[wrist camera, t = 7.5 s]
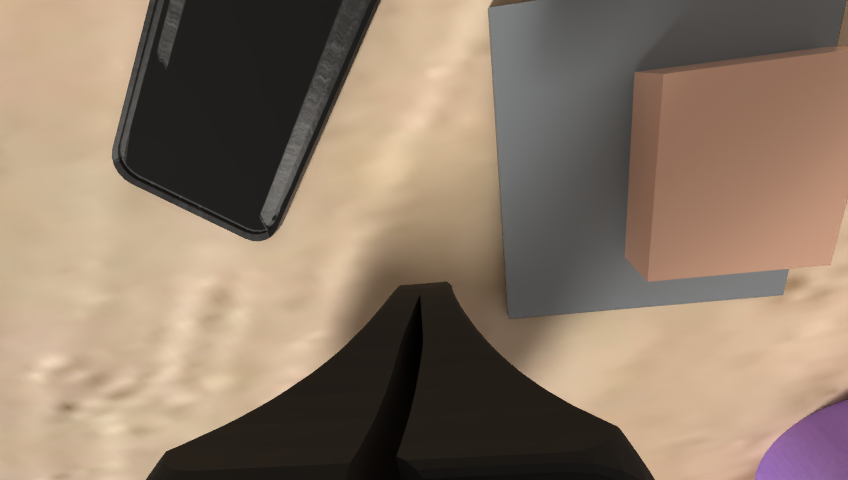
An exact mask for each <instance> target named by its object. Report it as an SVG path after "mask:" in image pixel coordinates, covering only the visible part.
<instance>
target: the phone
mask: <svg viewBox="0 0 848 480" xmlns="http://www.w3.org/2000/svg"><path fill="white" fill-rule="evenodd" d="M379 2H380V0H150V2H149V6H148V10H147V14H146V18H145V22H144V26H143V30H142V34H141V38H140V42H139V46H138V50H137V54H136V58H135V62H134V65H133V69H132V73H131V77H130V81H129V85H128V89H127V93H126V97H125V101H124V105H123V109H122V113H121V117H120V121H119V125H118V129H117V133H116V137H115V141H114V145H113V149H112V159H113V163H114V166H115V168H116V169H117V171H118V173H119V174H120V175H121V176H122V177H123V178H124V179H125V180H127V181H128V182H130V183H131V184H133V185H135V186H137V187H139V188H141V189H143V190H145V191H148V192H150V193H152V194H154V195H156V196H158V197H160V198H162V199H164V200H166V201H168V202H170V203H173V204H175V205H177V206H179V207H181V208H183V209H185V210H187V211H189V212H191V213H193V214H195V215H197V216H200V217H202V218H204V219H206V220H208V221H210V222H212V223H214V224H216V225H218V226H220V227H222V228H224V229H227V230H229V231H231V232H233V233H235V234H237V235H239V236H241V237H243V238H245V239H248V240H251V241H262V240H266V239H268V238H269V237H271V236H272V235H273V234H274V233H275V232H276V231H277V230H278V229H279V228H280V226H281V225H282V223H283V221H284V219H285V216H286V214H287V212H288V210H289V207H290V205H291V203H292V200H293V198H294V196H295V194H296V191H297V189H298V187H299V185H300V182H301V180H302V178H303V175H304V173H305V171H306V169H307V166H308V164H309V162H310V159H311V157H312V155H313V153H314V150H315V148H316V146H317V144H318V141H319V139H320V137H321V134H322V132H323V130H324V128H325V125H326V123H327V121H328V119H329V116H330V114H331V112H332V109H333V107H334V105H335V103H336V100H337V98H338V96H339V94H340V91H341V89H342V87H343V84H344V82H345V80H346V78H347V75H348V73H349V71H350V68H351V66H352V64H353V62H354V59H355V57H356V55H357V53H358V50H359V48H360V46H361V43H362V41H363V39H364V37H365V34H366V32H367V30H368V28H369V25H370V23H371V21H372V18H373V16H374V14H375V12H376V9H377V7H378V5H379Z"/></svg>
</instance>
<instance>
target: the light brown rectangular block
mask: <svg viewBox="0 0 848 480" xmlns="http://www.w3.org/2000/svg"><path fill="white" fill-rule="evenodd" d="M847 199H848V46H837V47H821V48H814V49H806V50H798V51H791V52H783V53H776V54H768V55H760V56H753V57H745V58H738V59H730V60H722V61H715V62H707V63H699V64H692V65H684V66H677V67H669V68H661V69H654V70H646V71H639V72H634V90H633V109H632V128H631V147H630V166H629V184H628V203H627V222H626V241H625V258H626V259H627V260H628V261H629V262H630V263H631V264H632V266H633V267H634V268H635V269H636V270H637V271H638V272H639V273H640V274H641V275H642V276H643V277H644V279H645V280H646V281H647V282H650V281H661V280H672V279H683V278H694V277H705V276H716V275H726V274H737V273H748V272H759V271H770V270H781V269H792V268H803V267H814V266H824V265H831V261H832V258H833V254H834V250H835V246H836V242H837V238H838V234H839V230H840V226H841V222H842V218H843V214H844V210H845V207H846V203H847Z"/></svg>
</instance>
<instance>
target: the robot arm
mask: <svg viewBox="0 0 848 480" xmlns="http://www.w3.org/2000/svg"><path fill="white" fill-rule="evenodd" d="M146 480H655V479H654V478H653V476H652V474H651V473H650V471H649V470H648V468H647V467H646V465H645V464H644V462H643V461H642V459H641V458H640V456H639V455H638V453H637V452H636V450H635V449H634V448H633V446H632V445H631V443H630V442H629V441H628V439H627V438H626V436H625V435H624V434H623V432H622V431H621V430H620V428H618V427H617V426H615V425H613V424H611V423H609V422H607V421H604V420H602V419H600V418H598V417H596V416H594V415H592V414H590V413H588V412H586V411H583V410H581V409H579V408H577V407H575V406H573V405H571V404H569V403H567V402H566V401H564V400H562V399H561V398H559V397H557V396H556V395H554V394H552V393H550V392H549V391H547V390H545V389H544V388H542V387H541V386H539V385H538V384H536V383H535V382H534V381H532V380H531V379H530V378H528V377H527V376H525V375H524V374H523V373H521V372H520V371H519V370H517V369H516V368H515V367H514V366H513V365H511V364H510V363H509V362H508V361H507V360H506V359H505V358H504V357H502V356H501V355H500V354H499V353H498V352H497V351H496V350H495V349H494V348H493V347H492V346H491V345H490V344H489V343H488V341H487V340H486V339H485V338H484V337H483V336H482V335H481V333H480V332H479V331H478V330H477V329H476V327H475V326H474V325H473V323H472V322H471V321H470V319H469V318H468V316H467V315H466V314H465V312H464V311H463V309H462V308H461V306H460V304H459V302H458V301H457V299H456V297H455V295H454V293H453V290H452V286H451V285H450V284H449V283H448V282H438V283H426V284H413V285H401V286H399V287H398V288H397V289H396V290H395V291H394V292H393V294H392V295H391V296H390V297H389V299H388V300H387V301H386V302H385V303H384V305H383V306H382V307H381V308H380V309H379V311H378V312H377V313H376V314H375V315H374V316H373V318H372V319H371V320H370V321H369V322H368V323H367V324H366V325H365V327H364V328H363V329H362V330H361V331H360V332H359V333H358V334H357V335H356V336H355V337H354V338H353V339H352V340H351V341H350V342H349V343H348V344H347V345H346V346H345V347H343V348H342V349H341V350H340V351H339V352H338V353H337V354H335V355H334V356H333V357H332V358H331V359H329V360H328V361H327V362H326V363H324V364H323V365H322V366H321V367H319V368H318V369H317V370H315V371H314V372H313V373H311V374H310V375H309V376H307V377H306V378H304V379H303V380H301V381H300V382H298V383H297V384H295V385H294V386H292V387H291V388H289V389H288V390H286V391H285V392H283V393H282V394H280V395H279V396H277V397H275V398H274V399H272V400H270V401H269V402H267V403H265V404H263V405H262V406H260V407H258V408H257V409H255V410H253V411H251V412H249V413H247V414H245V415H244V416H242V417H240V418H238V419H236V420H234V421H232V422H230V423H228V424H226V425H224V426H222V427H220V428H218V429H216V430H213V431H211V432H209V433H207V434H205V435H202V436H200V437H198V438H196V439H194V440H191V441H189V442H187V443H185V444H183V445H180V446H178V447H176V448H173V449H171V450H169V451H166V452H165V454H164V455H163V456H162V458H161V459H160V460H159V462H158V463H157V465H156V466H155V467H154V469H153V470H152V472H151V473H150V475H149V476H148V477H147V479H146Z"/></svg>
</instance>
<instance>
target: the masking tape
mask: <svg viewBox="0 0 848 480" xmlns="http://www.w3.org/2000/svg"><path fill="white" fill-rule="evenodd" d="M755 480H848V399H847V400H844V401H841V402H838V403H835V404H833V405H830V406H828V407H826V408H823V409H821V410H819V411H817V412H815V413H813V414H811V415H809V416H807V417H806V418H804V419H802V420H801V421H799V422H798V423H796V424H795V425H793V426H792V427H791V428H790V429H788V430H787V431H786V432H785V433H783V434H782V435H781V436H780V437H779V438H778V439H777V440H776V441H775V442H774V443H773V444H772V445H771V447H770V448H769V449H768V451H767V452H766V454H765V455H764V456H763V458H762V460H761V462H760V464H759V466H758V469H757V472H756V476H755Z"/></svg>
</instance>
